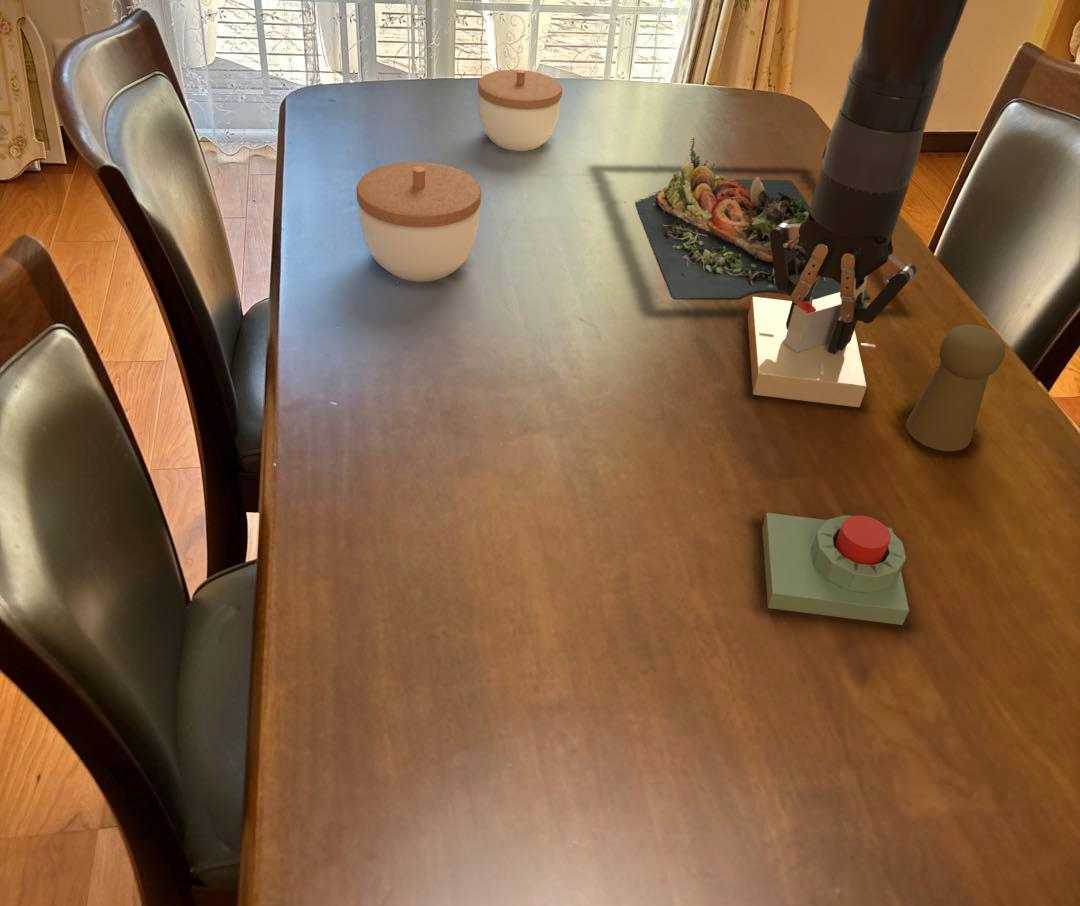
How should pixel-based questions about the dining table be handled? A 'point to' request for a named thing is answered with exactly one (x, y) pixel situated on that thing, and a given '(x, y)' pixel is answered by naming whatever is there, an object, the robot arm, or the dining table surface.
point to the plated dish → (722, 233)
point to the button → (863, 540)
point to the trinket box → (519, 108)
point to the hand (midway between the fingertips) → (815, 341)
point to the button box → (829, 572)
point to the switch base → (800, 361)
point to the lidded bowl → (419, 218)
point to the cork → (956, 388)
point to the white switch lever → (813, 322)
